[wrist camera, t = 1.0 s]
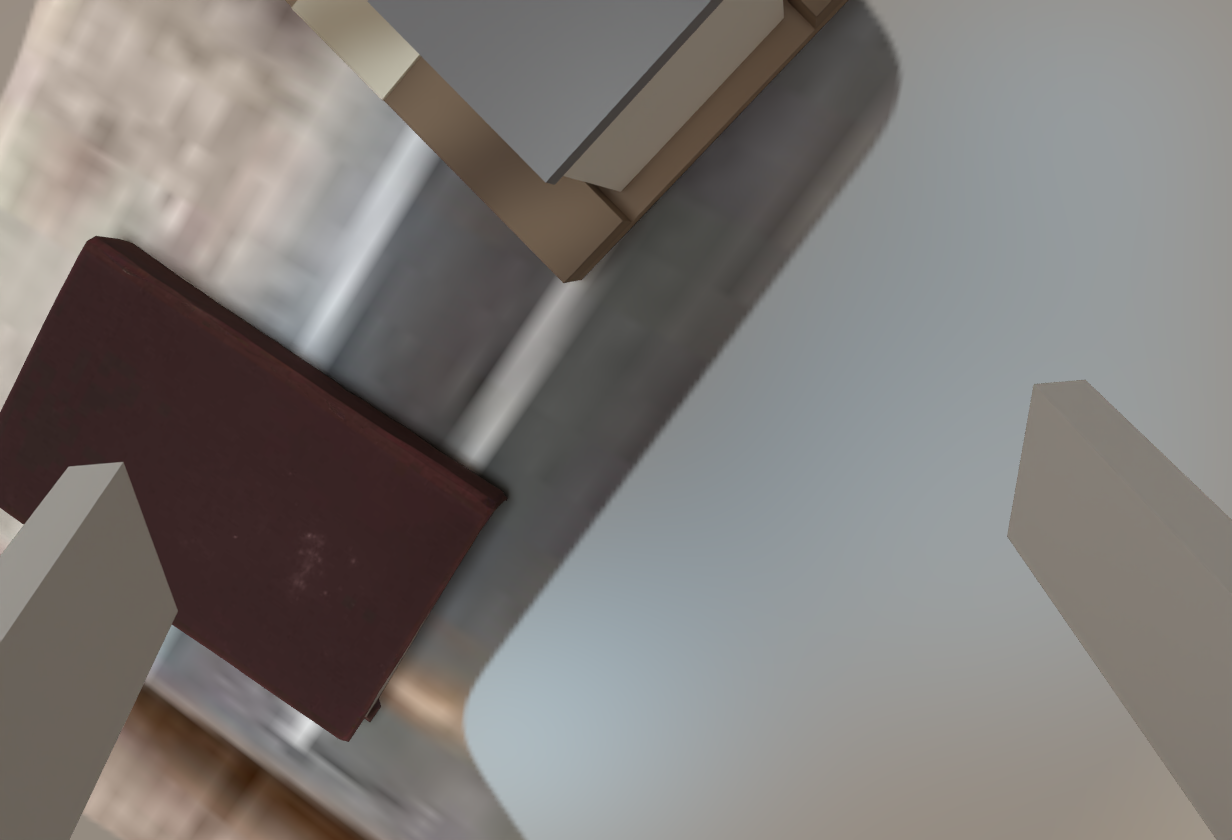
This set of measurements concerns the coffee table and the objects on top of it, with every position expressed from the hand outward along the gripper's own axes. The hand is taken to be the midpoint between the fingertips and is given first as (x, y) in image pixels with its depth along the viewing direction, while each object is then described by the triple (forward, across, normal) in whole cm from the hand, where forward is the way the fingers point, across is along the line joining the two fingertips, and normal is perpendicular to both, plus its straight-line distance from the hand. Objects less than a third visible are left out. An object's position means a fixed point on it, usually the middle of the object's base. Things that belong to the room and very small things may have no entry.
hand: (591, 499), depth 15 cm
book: (+24, -14, -14) cm, 31 cm away
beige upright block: (+24, +3, +2) cm, 24 cm away
